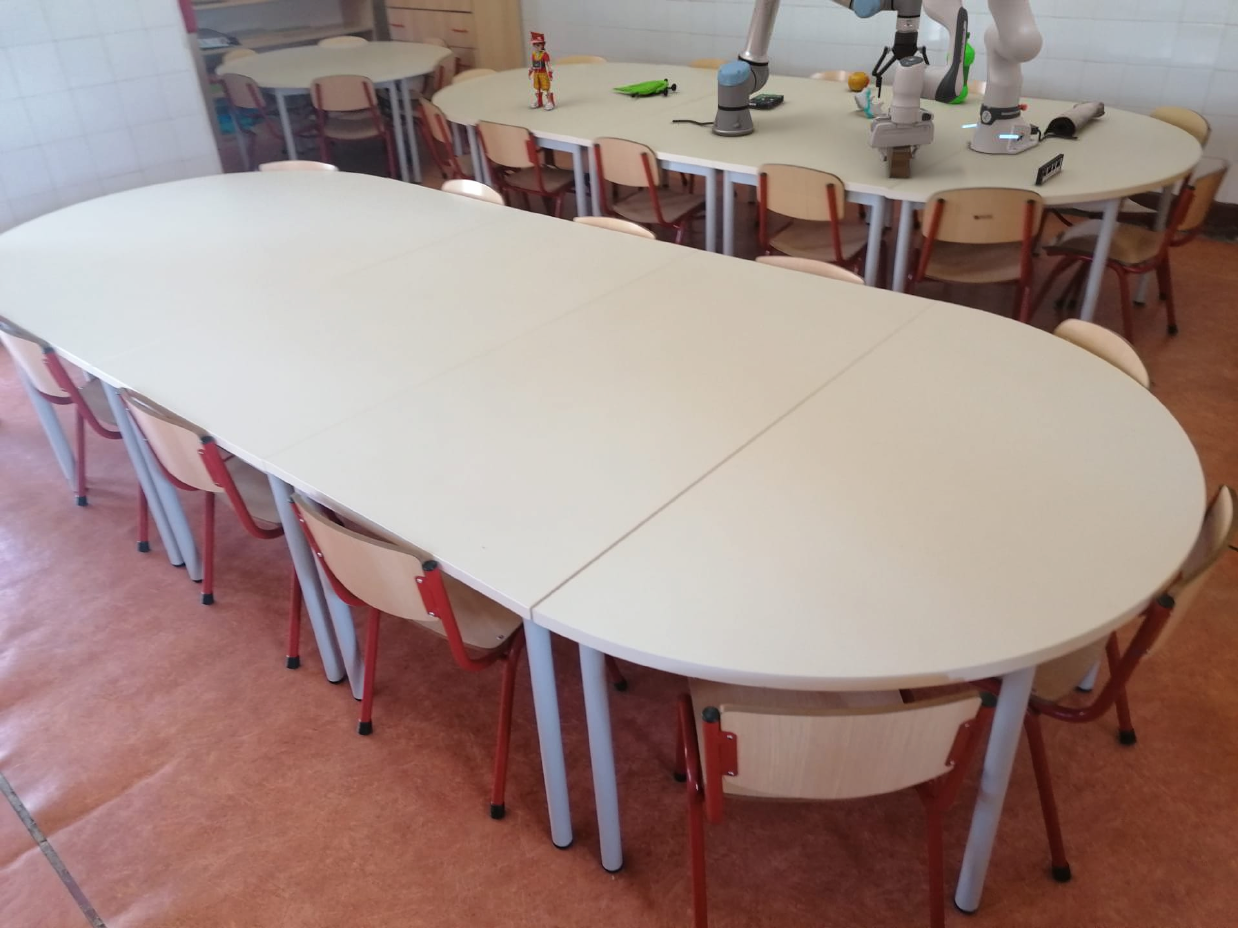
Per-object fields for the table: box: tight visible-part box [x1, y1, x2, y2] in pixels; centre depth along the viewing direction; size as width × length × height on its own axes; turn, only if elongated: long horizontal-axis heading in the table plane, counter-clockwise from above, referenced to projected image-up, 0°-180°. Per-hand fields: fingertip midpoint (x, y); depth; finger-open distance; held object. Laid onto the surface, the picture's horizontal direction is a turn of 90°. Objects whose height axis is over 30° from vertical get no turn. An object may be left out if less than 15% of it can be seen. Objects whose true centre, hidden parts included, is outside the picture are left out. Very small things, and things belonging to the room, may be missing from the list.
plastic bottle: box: [946, 31, 976, 104], centre depth 348 cm, size 10×10×25 cm
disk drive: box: [749, 93, 785, 110], centre depth 365 cm, size 10×3×15 cm
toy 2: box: [612, 78, 677, 99], centre depth 396 cm, size 28×5×30 cm
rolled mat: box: [1043, 100, 1106, 137], centre depth 316 cm, size 30×9×10 cm
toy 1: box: [527, 31, 556, 111], centre depth 374 cm, size 12×9×30 cm
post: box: [886, 107, 912, 179], centre depth 301 cm, size 54×6×8 cm, turn 167°
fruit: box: [847, 71, 870, 92], centre depth 377 cm, size 8×8×8 cm
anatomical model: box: [853, 87, 888, 119], centre depth 345 cm, size 15×10×10 cm
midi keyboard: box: [1035, 153, 1065, 186], centre depth 273 cm, size 18×1×5 cm, turn 138°
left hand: (898, 97), depth 313 cm, fingers open, 13 cm apart
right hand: (897, 160), depth 285 cm, fingers open, 8 cm apart
